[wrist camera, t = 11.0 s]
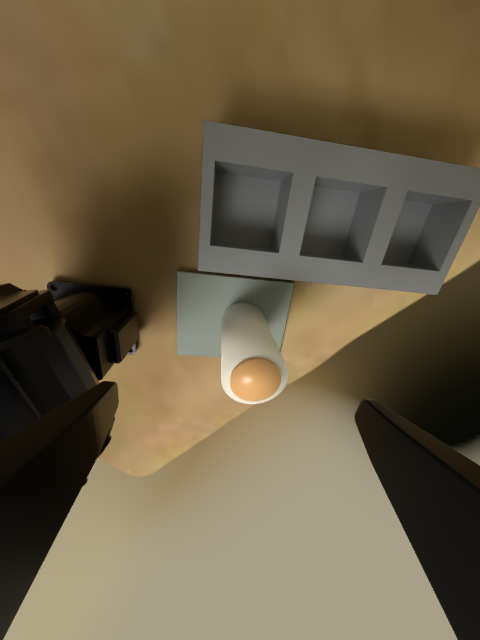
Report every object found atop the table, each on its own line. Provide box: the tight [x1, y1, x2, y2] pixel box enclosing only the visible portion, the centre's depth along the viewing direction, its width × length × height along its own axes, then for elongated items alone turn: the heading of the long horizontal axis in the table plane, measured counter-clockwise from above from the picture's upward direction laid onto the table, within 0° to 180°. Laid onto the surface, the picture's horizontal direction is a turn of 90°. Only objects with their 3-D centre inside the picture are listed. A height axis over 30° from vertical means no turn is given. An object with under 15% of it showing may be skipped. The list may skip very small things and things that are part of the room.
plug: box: [221, 302, 288, 404], centre depth 17 cm, size 4×4×8 cm
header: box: [198, 120, 480, 295], centre depth 16 cm, size 18×8×4 cm, turn 84°
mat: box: [177, 271, 294, 357], centre depth 21 cm, size 10×8×1 cm
